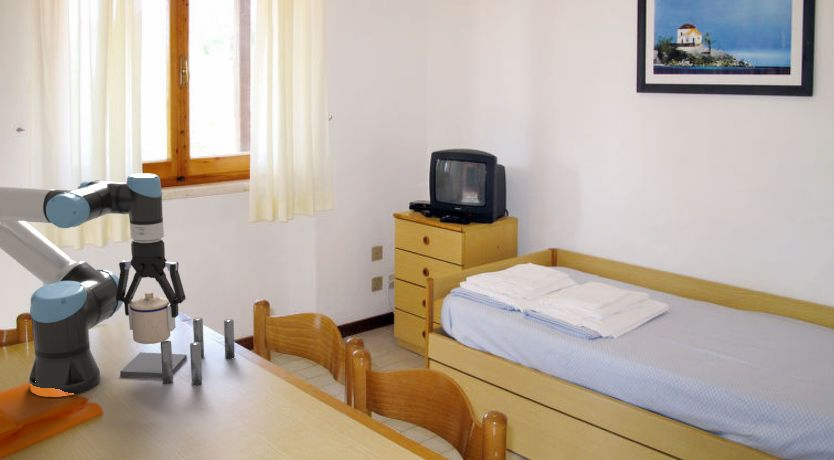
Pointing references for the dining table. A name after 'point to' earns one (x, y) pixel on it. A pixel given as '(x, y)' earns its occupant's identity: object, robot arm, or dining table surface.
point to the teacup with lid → (150, 319)
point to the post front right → (196, 363)
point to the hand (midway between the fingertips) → (152, 328)
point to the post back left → (198, 333)
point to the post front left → (166, 362)
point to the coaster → (150, 365)
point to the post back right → (229, 338)
